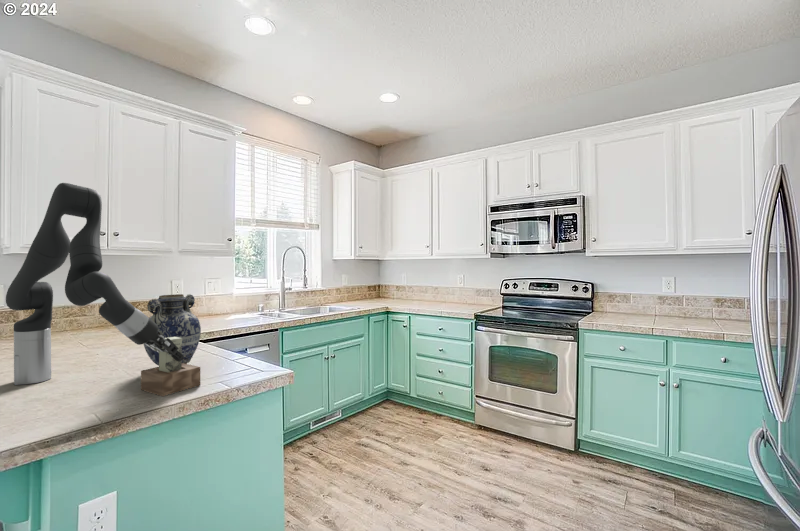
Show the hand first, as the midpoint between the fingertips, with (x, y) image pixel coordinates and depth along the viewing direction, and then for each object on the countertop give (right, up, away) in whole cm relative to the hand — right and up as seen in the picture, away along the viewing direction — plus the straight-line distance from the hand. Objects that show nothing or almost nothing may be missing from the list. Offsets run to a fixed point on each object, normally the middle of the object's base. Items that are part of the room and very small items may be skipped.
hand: (176, 358), depth 128 cm
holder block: (-1, -9, -1) cm, 9 cm away
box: (-1, -6, -2) cm, 7 cm away
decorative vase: (-11, -9, +18) cm, 23 cm away
